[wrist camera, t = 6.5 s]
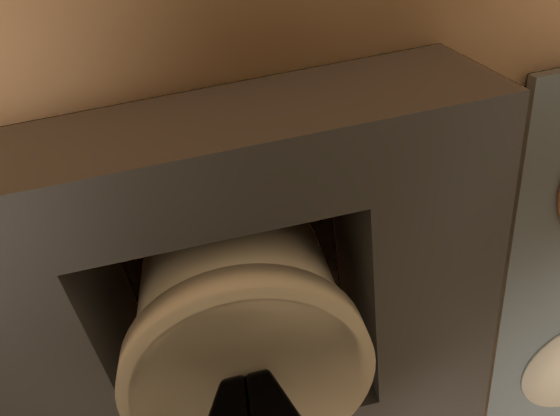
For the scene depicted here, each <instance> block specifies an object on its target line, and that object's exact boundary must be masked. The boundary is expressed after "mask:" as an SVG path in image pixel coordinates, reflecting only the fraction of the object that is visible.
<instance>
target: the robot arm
mask: <svg viewBox="0 0 560 416" xmlns="http://www.w3.org/2000/svg"><path fill="white" fill-rule="evenodd" d="M208 416H301V415H300V414H299V412H298V411H297V409H296V408H295V406H294V405H293V403H292V402H291V400H290V399H289V398H288V396H287V395H286V393H285V392H284V390H283V389H282V387H281V386H280V384H279V383H278V381H277V380H276V378H275V377H274V375H273V374H272V373H271V371H269V370H267V369H264V370H260V371H256V372H251V373H249V374H247V375H246V378H245V376H243V375H239V376H234V377H230V378H226V379H223V380H222V381H221V382H220V384H219V386H218V389H217V392H216V395H215V397H214V400H213V403H212V406H211V409H210V412H209V414H208Z"/></svg>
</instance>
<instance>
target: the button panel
mask: <svg viewBox="0 0 560 416" xmlns="http://www.w3.org/2000/svg"><path fill="white" fill-rule="evenodd" d="M529 96H530V90H529V89H527V88H525V87H523V86H522V85H520V84H518V83H516V82H514V81H512V80H510V79H508V78H506V77H504V76H502V75H500V74H498V73H496V72H495V71H493V70H491V69H489V68H487V67H485V66H483V65H481V64H479V63H477V62H475V61H473V60H471V59H470V58H468V57H466V56H464V55H462V54H460V53H458V52H456V51H454V50H452V49H450V48H448V47H446V46H444V45H443V44H441V43H440V44H434V45H429V46H424V47H419V48H413V49H408V50H403V51H398V52H392V53H387V54H382V55H377V56H371V57H366V58H361V59H356V60H350V61H345V62H340V63H335V64H329V65H324V66H319V67H314V68H308V69H303V70H298V71H293V72H287V73H282V74H277V75H271V76H266V77H261V78H256V79H250V80H245V81H240V82H235V83H229V84H224V85H219V86H214V87H208V88H203V89H198V90H193V91H187V92H182V93H177V94H172V95H166V96H161V97H156V98H151V99H145V100H140V101H135V102H130V103H124V104H119V105H114V106H109V107H103V108H98V109H93V110H88V111H82V112H77V113H72V114H67V115H61V116H56V117H51V118H45V119H40V120H35V121H30V122H24V123H19V124H14V125H9V126H3V127H0V416H120V415H119V412H118V410H117V406H116V400H115V382H116V375H117V368H118V361H119V355H120V350H121V346H122V342H123V340H124V337H125V335H126V333H127V330H128V329H129V327H130V326H131V324H132V323H133V321H134V319H135V318H136V315H137V307H138V303H137V301H136V299H135V296H134V294H133V291H132V289H131V286H130V284H129V281H128V279H127V276H126V274H125V271H124V269H123V266H122V264H121V262H125V261H129V260H134V259H139V258H143V257H148V256H153V255H158V254H162V253H167V252H172V251H176V250H181V249H186V248H191V247H195V246H200V245H205V244H209V243H214V242H219V241H224V240H228V239H233V238H238V237H242V236H247V235H252V234H257V233H261V232H266V231H271V230H275V229H280V228H285V227H290V226H294V225H299V224H304V223H308V222H313V221H318V220H323V219H327V218H332V217H333V222H334V232H335V243H336V253H337V264H338V274H339V284H340V289H341V290H342V291H344V292H345V293H346V294H347V295H348V297H349V298H350V299H351V300H352V301H353V302H354V304H355V306H356V308H357V309H358V311H359V313H360V315H361V317H362V320H363V322H364V324H365V326H366V329H367V331H368V333H369V336H370V338H371V341H372V344H373V346H374V351H375V358H376V365H375V374H374V378H373V382H372V385H371V387H370V390H369V392H368V394H367V396H366V397H365V399H364V401H363V402H362V404H361V405H360V406H359V408H358V409H357V410H356V412H355V413H354V414H353V415H352V416H484V411H485V404H486V397H487V390H488V383H489V376H490V369H491V362H492V355H493V348H494V341H495V334H496V327H497V320H498V313H499V306H500V299H501V292H502V285H503V278H504V271H505V264H506V257H507V250H508V243H509V236H510V229H511V222H512V215H513V208H514V201H515V194H516V187H517V180H518V173H519V166H520V159H521V152H522V145H523V138H524V131H525V124H526V117H527V110H528V103H529Z"/></svg>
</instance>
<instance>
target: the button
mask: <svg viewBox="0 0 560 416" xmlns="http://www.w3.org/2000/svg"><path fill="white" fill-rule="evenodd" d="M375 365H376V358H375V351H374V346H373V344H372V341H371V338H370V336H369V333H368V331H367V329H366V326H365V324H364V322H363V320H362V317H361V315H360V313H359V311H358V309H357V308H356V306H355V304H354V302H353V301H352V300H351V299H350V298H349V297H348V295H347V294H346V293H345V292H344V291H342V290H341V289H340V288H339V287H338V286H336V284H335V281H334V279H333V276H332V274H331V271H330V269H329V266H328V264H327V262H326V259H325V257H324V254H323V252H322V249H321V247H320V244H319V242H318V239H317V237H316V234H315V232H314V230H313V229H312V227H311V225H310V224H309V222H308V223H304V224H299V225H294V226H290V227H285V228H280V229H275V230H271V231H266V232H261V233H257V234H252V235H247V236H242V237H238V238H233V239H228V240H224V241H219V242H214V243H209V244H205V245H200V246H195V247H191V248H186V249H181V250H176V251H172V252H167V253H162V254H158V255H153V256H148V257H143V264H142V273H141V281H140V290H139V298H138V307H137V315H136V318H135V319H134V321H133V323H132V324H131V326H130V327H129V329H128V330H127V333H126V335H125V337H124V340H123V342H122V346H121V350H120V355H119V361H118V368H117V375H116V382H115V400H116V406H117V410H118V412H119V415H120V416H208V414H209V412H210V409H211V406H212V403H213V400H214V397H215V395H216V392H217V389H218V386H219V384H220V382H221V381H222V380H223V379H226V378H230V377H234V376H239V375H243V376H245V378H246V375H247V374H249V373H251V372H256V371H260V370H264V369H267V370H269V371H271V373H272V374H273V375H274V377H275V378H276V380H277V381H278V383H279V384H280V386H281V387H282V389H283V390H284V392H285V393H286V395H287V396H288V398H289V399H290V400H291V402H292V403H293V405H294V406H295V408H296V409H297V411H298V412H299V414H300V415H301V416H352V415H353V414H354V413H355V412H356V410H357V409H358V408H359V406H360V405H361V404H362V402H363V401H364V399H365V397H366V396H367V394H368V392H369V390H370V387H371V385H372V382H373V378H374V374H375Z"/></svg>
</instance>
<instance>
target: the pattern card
mask: <svg viewBox="0 0 560 416" xmlns="http://www.w3.org/2000/svg"><path fill="white" fill-rule="evenodd" d="M526 88H527V89H529V90H530V96H529V103H528V110H527V117H526V124H525V131H524V138H523V145H522V152H521V159H520V166H519V173H518V180H517V187H516V194H515V201H514V208H513V215H512V222H511V229H510V236H509V243H508V250H507V257H506V264H505V271H504V278H503V285H502V292H501V299H500V306H499V313H498V320H497V327H496V334H495V341H494V348H493V355H492V362H491V369H490V376H489V383H488V390H487V397H486V404H485V411H484V416H560V68H556V69H551V70H545V71H540V72H535V73H530V74H528V78H527V86H526Z"/></svg>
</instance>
